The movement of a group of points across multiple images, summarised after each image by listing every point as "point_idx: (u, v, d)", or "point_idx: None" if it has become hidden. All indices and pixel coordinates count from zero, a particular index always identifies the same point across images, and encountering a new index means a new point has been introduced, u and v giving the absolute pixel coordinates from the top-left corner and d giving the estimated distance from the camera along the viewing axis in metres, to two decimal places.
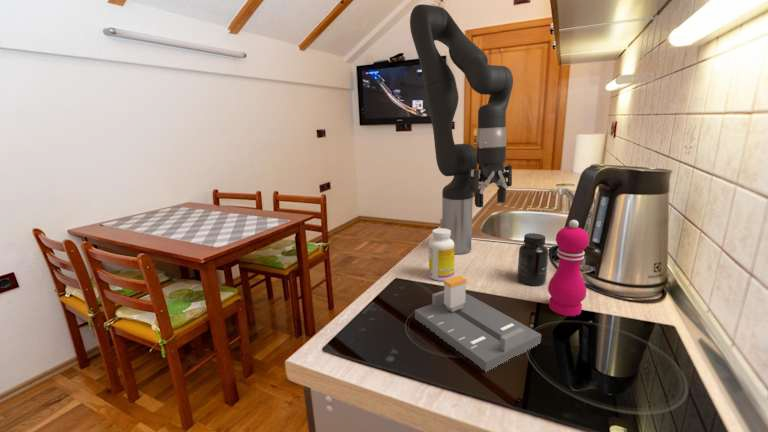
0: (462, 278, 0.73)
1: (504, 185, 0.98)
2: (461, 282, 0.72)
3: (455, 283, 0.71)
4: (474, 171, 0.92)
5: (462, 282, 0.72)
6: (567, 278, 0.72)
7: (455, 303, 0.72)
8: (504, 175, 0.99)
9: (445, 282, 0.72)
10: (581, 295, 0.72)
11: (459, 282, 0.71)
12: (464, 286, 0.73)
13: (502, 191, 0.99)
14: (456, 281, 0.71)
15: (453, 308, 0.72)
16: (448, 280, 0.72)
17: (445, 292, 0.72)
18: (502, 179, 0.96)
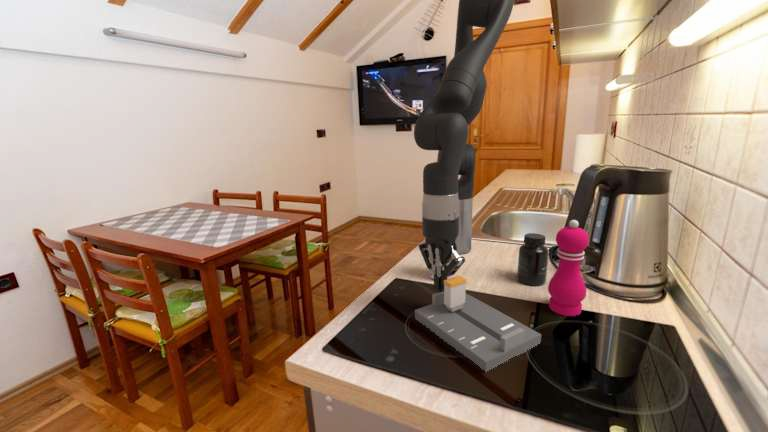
0: (462, 278, 0.73)
1: None
2: (461, 282, 0.72)
3: (455, 283, 0.71)
4: (462, 261, 0.70)
5: (462, 282, 0.72)
6: (567, 278, 0.72)
7: (455, 303, 0.72)
8: (428, 254, 0.78)
9: (445, 282, 0.72)
10: (581, 295, 0.72)
11: (459, 282, 0.71)
12: (464, 286, 0.73)
13: None
14: (456, 281, 0.71)
15: (453, 308, 0.72)
16: (448, 280, 0.72)
17: (445, 292, 0.72)
18: None
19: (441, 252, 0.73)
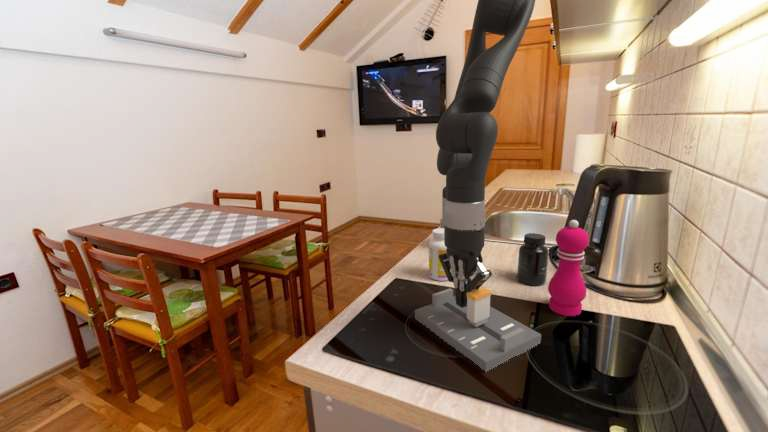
0: (486, 290, 0.67)
1: None
2: (486, 295, 0.66)
3: (479, 296, 0.65)
4: (489, 275, 0.64)
5: (487, 294, 0.66)
6: (567, 278, 0.72)
7: (479, 317, 0.67)
8: (449, 265, 0.72)
9: (468, 295, 0.66)
10: (581, 295, 0.72)
11: (484, 295, 0.66)
12: (489, 299, 0.67)
13: None
14: (480, 294, 0.66)
15: (477, 323, 0.67)
16: (471, 293, 0.66)
17: (468, 306, 0.67)
18: None
19: (464, 264, 0.66)
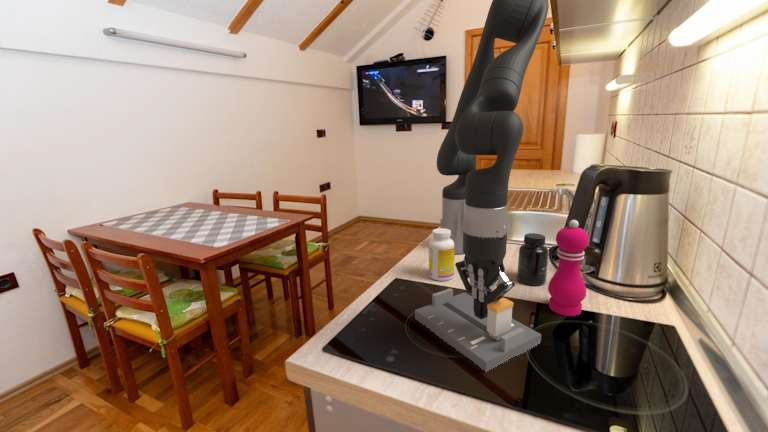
0: (508, 301, 0.63)
1: None
2: (508, 306, 0.62)
3: (501, 308, 0.61)
4: (512, 286, 0.60)
5: (509, 306, 0.62)
6: (567, 278, 0.72)
7: (500, 330, 0.62)
8: (467, 274, 0.68)
9: (489, 306, 0.62)
10: (581, 295, 0.72)
11: (506, 306, 0.62)
12: (511, 311, 0.63)
13: None
14: (502, 305, 0.62)
15: (498, 336, 0.62)
16: (492, 304, 0.62)
17: (489, 318, 0.63)
18: None
19: (485, 273, 0.62)
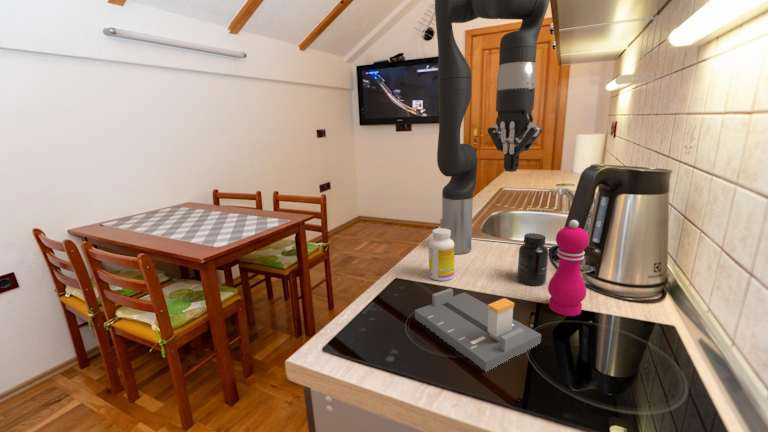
0: (509, 302, 0.63)
1: None
2: (509, 307, 0.62)
3: (502, 308, 0.61)
4: (540, 131, 0.71)
5: (510, 306, 0.62)
6: (567, 278, 0.72)
7: (501, 330, 0.62)
8: (498, 136, 0.79)
9: (490, 307, 0.62)
10: (581, 295, 0.72)
11: (506, 307, 0.61)
12: (511, 311, 0.63)
13: None
14: (503, 306, 0.61)
15: (499, 337, 0.62)
16: (493, 304, 0.62)
17: (489, 318, 0.62)
18: None
19: (516, 125, 0.73)
